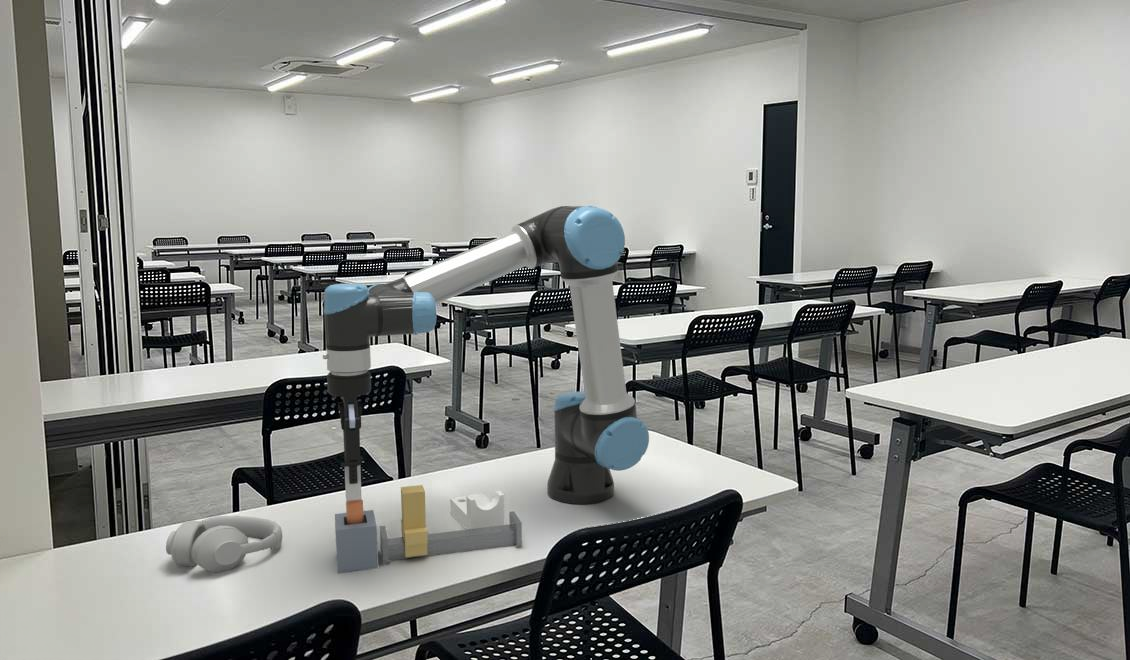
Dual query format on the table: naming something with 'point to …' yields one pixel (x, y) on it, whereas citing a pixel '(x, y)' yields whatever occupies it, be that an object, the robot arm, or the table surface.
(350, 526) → the housing
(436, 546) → the rail
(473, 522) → the bracket
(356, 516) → the plunger
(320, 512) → the table surface
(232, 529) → the headphones
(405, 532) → the carriage
